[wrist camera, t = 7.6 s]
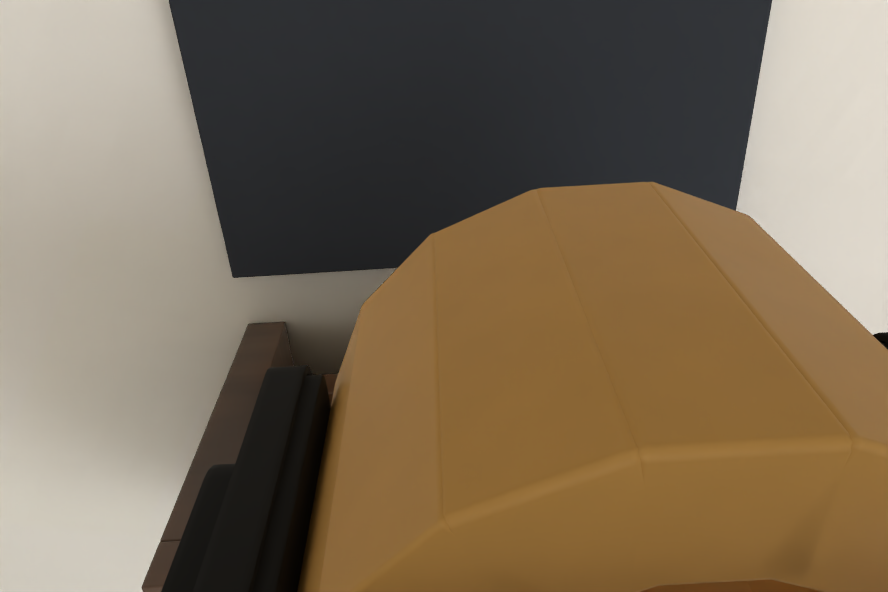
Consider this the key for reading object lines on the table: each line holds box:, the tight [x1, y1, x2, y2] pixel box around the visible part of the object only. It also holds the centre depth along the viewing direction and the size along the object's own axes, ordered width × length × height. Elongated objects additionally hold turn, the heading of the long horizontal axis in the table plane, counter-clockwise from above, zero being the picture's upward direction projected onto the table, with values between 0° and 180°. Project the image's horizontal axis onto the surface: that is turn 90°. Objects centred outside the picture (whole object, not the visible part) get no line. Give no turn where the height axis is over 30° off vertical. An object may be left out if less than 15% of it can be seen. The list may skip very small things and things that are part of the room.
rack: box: [142, 322, 338, 592], centre depth 26 cm, size 20×12×13 cm, turn 93°
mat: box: [169, 0, 772, 278], centre depth 25 cm, size 20×11×1 cm, turn 93°
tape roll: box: [297, 182, 888, 592], centre depth 8 cm, size 7×7×5 cm
